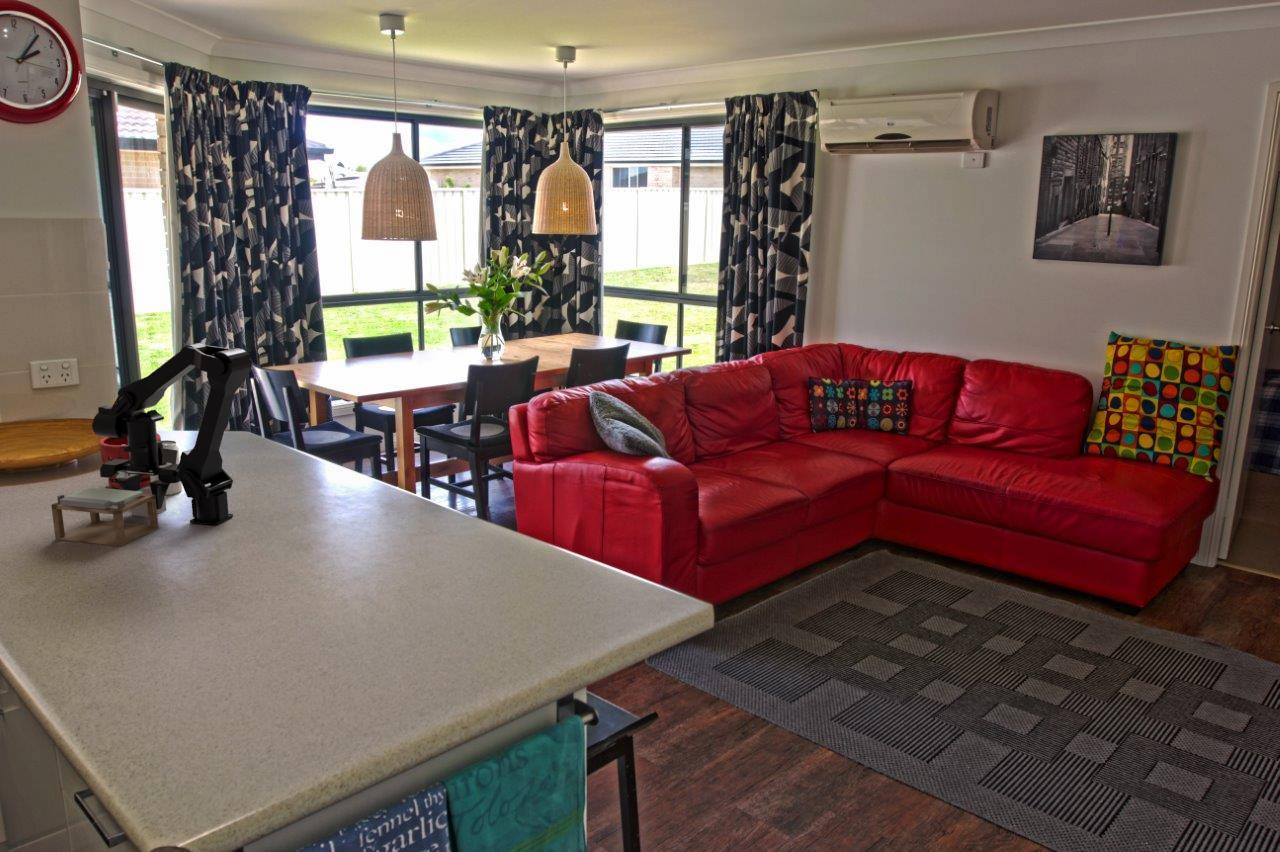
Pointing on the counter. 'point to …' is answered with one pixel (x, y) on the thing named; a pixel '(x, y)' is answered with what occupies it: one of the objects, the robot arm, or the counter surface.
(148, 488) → the stone
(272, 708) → the counter surface
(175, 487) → the can
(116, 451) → the plant pot
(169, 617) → the counter surface
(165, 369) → the robot arm
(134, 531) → the frame
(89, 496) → the trapdoor
